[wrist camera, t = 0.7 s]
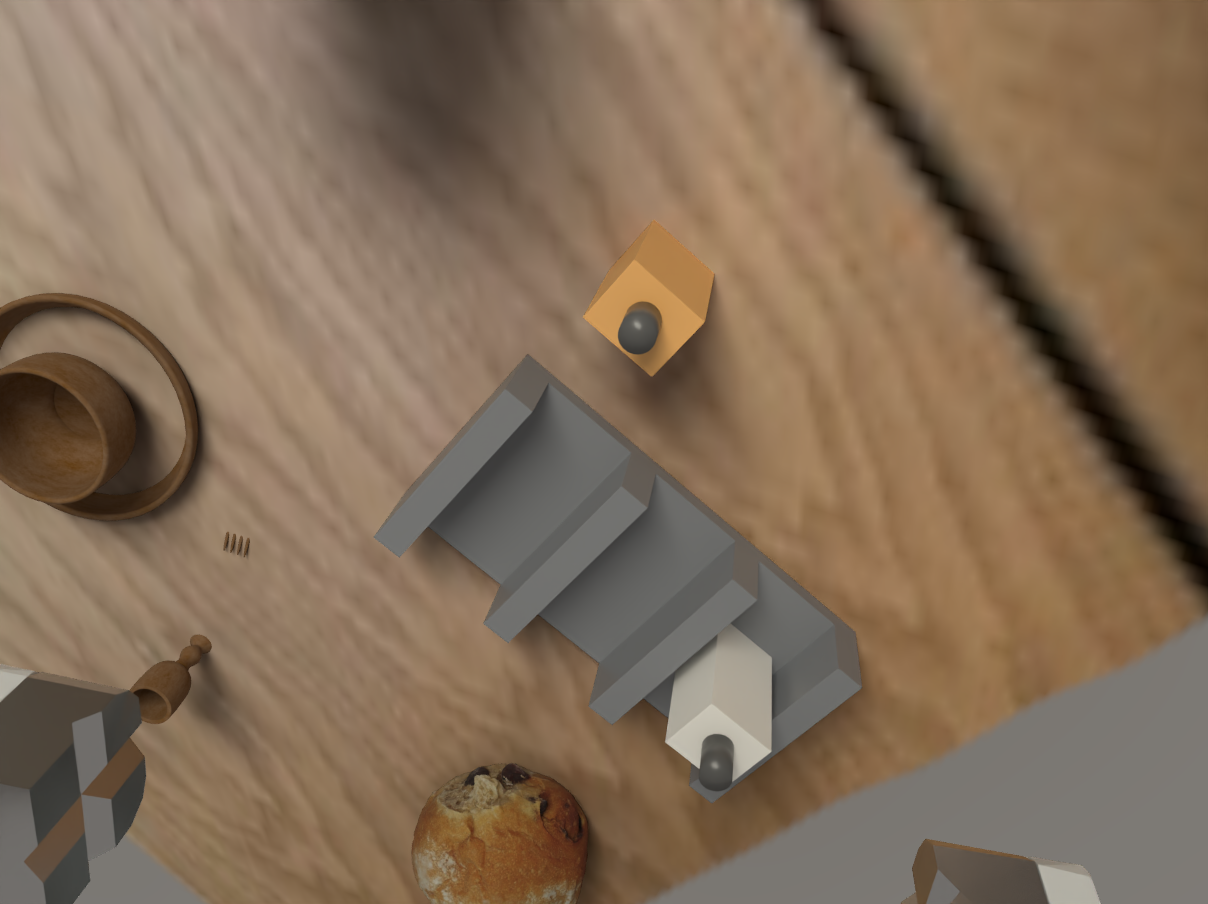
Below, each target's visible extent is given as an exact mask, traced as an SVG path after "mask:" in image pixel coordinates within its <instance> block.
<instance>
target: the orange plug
mask: <svg viewBox="0 0 1208 904" xmlns="http://www.w3.org/2000/svg"><path fill="white" fill-rule="evenodd" d="M713 279H714V273H713V272H712V271H711V270H710V269H708V268H707V267H706V266H705V265H704V264H703V263H702V262H701V261H700V260H698V259H697V258H696V257H695V256H694V255H693V254H692V253H691V252H690V251H688V250H687V249H686V248H685V247H684V246H683V245H682V244H681V243H680V242H678V241H677V240H676V239H675V238H674V237H673V236H672V235H671V234H670V233H668V232H667V231H666V230H665V229H664V228H663V227H662V226H661V225H660V224H658V223H657V222H656V221H655V220H653V221H652V222H651V224H650V225H649V226H648V227H647V228H646V229H645V230H644V232H643V233H642V234H641V235H640V236H639V237H638V238H637V239H636V241H635V242H634V243H633V244H632V245H631V246H630V247H629V248H628V250H627V251H626V252H625V253H624V254H623V255H622V256H621V257H620V259H619V260H618V261H617V262H616V263H615V264H614V265H613V266H612V268H611V269H610V270H609V271H608V273H607V275H606V277H605V278H604V280H603V282H602V284H601V286H600V287H599V289H598V291H597V293H596V295H595V296H594V298H593V300H592V302H591V304H590V305H589V307H588V309H587V311H586V312H585V314H584V316H583V318H584V319H585V320H587V321H588V322H589V323H590V324H591V325H592V326H594V327H595V328H596V329H597V330H598V331H599V332H601V333H602V334H603V335H604V336H605V337H606V338H607V339H609V340H610V341H611V342H612V343H613V344H614V345H616V346H617V347H618V348H619V349H620V350H621V351H622V352H624V353H625V354H626V355H627V356H628V357H629V358H631V359H632V360H633V361H634V362H635V363H636V364H637V365H639V366H640V367H641V368H642V369H643V370H644V371H646V372H647V373H648V374H649V375H650V376H651V377H652V376H653V375H654V374H655V373H656V372H657V371H658V370H659V369H660V368H661V367H662V366H663V365H664V364H665V363H666V362H667V361H668V360H669V359H670V358H671V357H672V356H673V355H674V353H675V352H676V351H677V350H678V349H679V348H680V347H681V346H682V345H683V344H684V343H685V342H686V341H687V340H688V339H689V338H690V337H691V336H692V335H693V334H694V333H695V332H696V331H697V330H698V329H699V327H700V326H701V325H702V324H703V323H704V322H705V319H706V314H707V309H708V304H709V299H710V294H711V289H712V284H713Z"/></svg>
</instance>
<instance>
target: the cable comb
mask: <svg viewBox="0 0 1208 904" xmlns="http://www.w3.org/2000/svg"><path fill="white" fill-rule="evenodd" d="M427 527H429V528H430V529H432V530H433V531H434V532H435V533H437V534H438V535H439V536H440V537H442V538H443V539H444V540H445V541H447V542H448V543H449V544H450V545H452V546H453V547H454V548H455V549H457V550H458V551H459V552H460V553H462V554H463V555H464V556H465V557H467V558H468V559H469V560H470V561H472V562H473V563H474V564H475V565H477V566H478V567H479V568H480V569H482V570H483V571H484V572H485V573H487V574H488V575H489V576H490V577H492V578H493V579H494V580H496V581H497V582H498V583H499V584H501V585H500V588H499V590H498V592H497V594H496V596H495V599H494V601H493V603H492V605H491V608H490V610H489V612H488V614H487V617H486V619H485V621H484V623H483V624H484V625H486V626H487V627H488V628H490V629H491V630H492V631H493V632H495V633H496V634H497V635H498V636H500V637H501V638H502V639H503V640H505V641H506V642H507V643H509V642H510V641H511V640H512V639H513V638H514V637H515V636H516V635H517V634H518V633H519V632H520V631H521V630H522V629H523V628H524V627H525V626H526V625H527V624H528V623H529V622H530V621H531V620H532V619H533V618H534V617H535V616H536V615H537V614H538V615H539V616H541V617H542V618H543V619H544V620H546V621H547V622H548V623H549V624H551V625H552V626H553V627H554V628H556V629H557V630H558V631H559V632H561V633H562V634H563V635H564V636H566V637H567V638H568V639H570V640H571V641H572V642H573V643H575V644H576V645H577V646H578V647H580V648H581V649H582V650H583V651H585V652H586V653H587V654H588V655H590V656H591V657H592V658H593V659H595V660H596V661H597V662H598V663H599V667H598V671H597V675H596V679H595V683H594V686H593V690H592V694H591V698H590V702H589V707H590V708H591V709H592V710H594V711H595V712H596V713H598V714H599V715H600V716H601V717H603V718H604V719H605V720H606V721H608V722H609V723H610V724H612V725H613V724H614V723H615V722H616V721H617V720H618V719H620V718H621V717H622V716H623V715H624V714H625V713H627V712H628V711H629V710H630V709H631V708H632V707H633V706H635V705H636V704H637V703H638V702H639V701H640V700H642V699H643V698H644V699H645V700H646V701H647V702H649V703H650V704H651V705H652V706H654V707H655V708H656V709H657V710H659V711H660V712H661V713H662V714H664V715H665V716H666V717H667V718H669V712H670V705H671V698H672V691H673V684H674V677H675V670H677V669H678V668H679V667H680V666H681V665H682V664H683V663H685V662H686V661H687V660H688V659H689V658H690V657H692V656H693V655H694V654H695V653H696V652H697V651H699V650H700V649H701V648H702V647H703V646H704V645H706V644H707V643H708V642H709V641H710V640H711V639H713V638H714V637H715V636H716V635H717V634H718V633H720V632H721V631H722V630H723V629H724V628H725V627H727V626H728V625H729V624H730V623H731V624H732V625H733V626H734V627H736V628H737V629H738V630H739V631H740V632H742V633H743V634H744V635H745V636H746V637H748V638H749V639H750V640H751V641H752V642H754V643H755V644H756V645H757V646H758V647H760V648H761V649H762V650H763V651H765V652H766V653H767V654H768V655H769V656H771V657H772V732H771V752H770V753H769V754H768V755H767V756H765V757H764V758H763V759H761V760H760V761H759V762H758V763H756V764H755V765H754V766H752V767H751V768H750V769H748V770H747V771H746V772H745V773H743V774H742V775H741V776H739V777H738V778H737V779H736V780H734V781H733V782H732V784H731V785H730V787H729V788H727V789H726V790H723V791H711V790H708V789H706V788H705V787H704V786H703V785H702V784H701V783H700V781H699V770H700V769H699V768H697V767H696V766H695V765H694V764H691V773H690V783H689V786H690V787H692V788H693V789H694V790H695V791H697V792H698V793H699V794H701V795H702V796H703V797H704V798H706V799H707V800H708V801H709V802H711V803H713V802H714V801H716V800H717V799H718V798H720V797H721V796H722V795H723V794H725V793H726V792H727V791H729V790H730V789H731V788H733V787H734V786H735V785H736V784H738V783H739V782H740V781H742V780H743V779H744V778H746V777H747V776H748V775H749V774H751V773H752V772H753V771H755V770H756V769H757V768H759V767H760V766H761V765H762V764H764V763H765V762H766V761H768V760H769V759H770V758H772V757H773V756H774V755H775V754H777V753H778V752H779V751H781V750H782V749H783V748H785V747H786V746H787V745H788V744H790V743H791V742H792V741H794V740H795V739H796V738H798V737H799V736H800V735H801V734H803V733H804V732H805V731H807V730H808V729H809V728H811V727H812V726H813V725H814V724H816V723H817V722H818V721H820V720H821V719H822V718H824V717H825V716H826V715H828V714H829V713H830V712H831V711H833V710H834V709H835V708H837V707H838V706H839V705H841V704H842V703H843V702H844V701H846V700H847V699H848V698H850V697H851V696H852V695H854V694H855V693H856V692H857V691H859V690H860V689H861V688H862V682H861V674H860V666H859V658H858V650H857V641H856V633H855V631H853V630H852V629H851V628H850V627H849V626H848V625H846V624H845V623H844V622H843V621H842V620H841V619H839V618H838V617H837V616H836V615H835V614H833V613H832V612H831V611H830V610H829V609H828V608H826V607H825V606H824V605H823V604H822V603H820V602H819V601H818V600H817V599H816V598H815V597H813V596H812V595H811V594H810V593H809V592H808V591H806V590H805V589H804V588H803V587H802V586H800V585H799V584H798V583H797V582H796V581H795V580H793V579H792V578H791V577H790V576H789V575H787V574H786V573H785V572H784V571H783V570H782V569H780V568H779V567H778V566H777V565H776V564H775V563H773V562H772V561H771V560H770V559H769V558H767V557H766V556H765V555H764V554H763V553H762V552H760V551H759V550H758V549H757V548H756V547H755V546H753V545H752V544H751V543H750V542H749V541H747V540H746V539H745V538H744V537H743V536H742V535H740V534H739V533H738V532H737V531H736V530H734V529H733V528H732V527H731V526H730V525H729V524H727V523H726V522H725V521H724V520H723V519H722V518H720V517H719V516H718V515H717V514H716V513H714V512H713V511H712V510H711V509H710V508H709V507H707V506H706V505H705V504H704V503H703V502H701V501H700V500H699V499H698V498H697V497H696V496H694V495H693V494H692V493H691V492H690V491H689V490H687V489H686V488H685V487H684V486H683V485H681V484H680V483H679V482H678V481H677V480H676V479H674V478H673V477H672V476H671V475H670V474H668V473H667V472H666V471H665V470H664V469H663V468H661V467H660V466H659V465H658V464H657V463H656V462H654V461H653V460H652V459H651V458H650V457H648V456H647V455H646V454H645V453H644V452H643V451H641V450H640V449H639V448H638V447H637V446H636V445H634V444H633V443H632V442H631V441H630V440H628V439H627V438H626V437H625V436H624V435H623V434H621V433H620V432H619V431H618V430H617V429H615V428H614V427H613V426H612V425H611V424H610V423H608V422H607V421H606V420H605V419H604V418H603V417H601V416H600V415H599V414H598V413H597V412H595V411H594V410H593V409H592V408H591V407H590V406H588V405H587V404H586V403H585V402H584V401H582V400H581V399H580V398H579V397H578V396H577V395H575V394H574V393H573V392H572V391H571V390H570V389H568V388H567V387H566V386H565V385H564V384H562V383H561V382H560V381H559V380H558V379H557V378H555V377H554V376H553V375H552V374H551V373H549V372H548V371H547V370H546V369H545V368H544V367H542V366H541V365H540V364H539V363H538V362H537V361H535V360H534V359H533V358H532V357H531V356H529V355H528V354H527V355H526V357H525V358H524V359H523V360H522V361H521V362H520V363H519V364H518V366H517V367H516V368H515V369H514V370H513V371H512V372H511V374H510V375H509V376H508V377H507V378H506V379H505V380H504V381H503V383H502V384H501V385H500V386H499V387H498V388H497V389H496V391H495V392H494V393H493V394H492V395H491V396H490V397H489V398H488V400H487V401H486V402H485V403H484V404H483V405H482V406H481V408H480V409H479V410H478V411H477V412H476V413H475V414H474V415H473V417H472V418H471V419H470V420H469V421H468V422H467V423H466V425H465V426H464V427H463V428H462V429H461V430H460V431H459V432H458V434H457V435H456V436H455V437H454V438H453V439H452V440H451V442H450V443H449V444H448V445H447V446H446V447H445V448H444V449H443V451H442V452H441V453H440V454H439V455H438V456H437V457H436V459H435V460H434V461H433V462H432V463H431V464H430V465H429V467H428V468H427V469H426V470H425V471H424V472H423V473H422V474H421V476H420V477H419V478H418V479H417V480H416V481H415V482H414V484H413V485H412V486H411V487H410V488H409V489H408V490H407V491H406V493H405V494H404V495H403V497H402V498H401V499H400V501H399V502H398V504H397V505H396V506H395V508H394V509H393V511H392V512H391V513H390V515H389V516H388V518H387V519H386V520H385V522H384V523H383V525H382V526H381V527H380V529H379V530H378V532H377V533H376V535H375V536H374V538H375V539H376V540H378V541H379V542H380V543H381V544H383V545H384V546H385V547H387V548H388V549H389V550H390V551H392V552H393V553H394V554H395V555H397V556H398V557H400V556H401V555H402V554H403V553H404V552H405V551H406V550H407V549H408V547H409V546H410V545H411V544H412V543H413V542H414V541H415V540H416V539H417V538H418V537H419V535H420V534H421V533H422V532H423V531H424V530H425V529H426V528H427Z"/></svg>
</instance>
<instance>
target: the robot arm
mask: <svg viewBox="0 0 1208 904" xmlns="http://www.w3.org/2000/svg"><path fill="white" fill-rule="evenodd" d="M141 723H142V719H141V712H140V704H139V697H138V696H136V695H135V694H133V693H132V692H130V691H129V690H125V689H121V688H116V687H111V686H106V685H102V684H97V683H92V682H88V681H83V680H78V679H74V678H69V677H64V676H59V675H55V674H50V673H45V672H41V673H39V672H35V671H31V670H26V669H22V668H17V667H12V666H8V665H3V664H0V904H73V903H74V902H75V900H76V899H77V898H78V896H79V895H80V894H81V892H82V891H83V890H84V889H85V887H86V886H87V885H88V883H89V882H90V873H89V863H88V861H90V860H92V859H94V858H96V857H98V856H100V855H102V854H103V853H105V852H107V851H109V850H111V849H113V848H115V847H116V846H117V845H118V843H119V842H120V841H121V839H122V838H123V836H124V835H125V834H126V832H127V831H128V829H129V828H130V827H131V825H132V823H133V820H134V818H135V816H136V813H137V811H138V808H139V806H140V803H141V801H142V799H143V793H144V786H145V780H146V767H145V756H144V755H143V754H142V752H141V751H140V750H139V749H138V747H137V746H136V745H135V743H134V742H133V741H132V740H131V738H130V736H131V735H132V734H133V733H134V732H135V730H136V729H137V728H138V727H139V726H140V724H141ZM912 871H913V877H914V884H915V890H916V893H914V894H913V895H911V896H910V897H908V898H906V899H905V900H903V901H902V902H901V904H1101V902H1100V899H1099V896H1098V894H1097V891H1096V889H1095V886H1094V883H1093V881H1092V878H1091V875H1090V874H1089V872H1088V871H1087V870H1086V869H1085V868H1084V867H1083V866H1082V865H1077V864H1071V863H1065V862H1059V861H1053V860H1047V859H1041V858H1035V857H1028V858H1026V857H1023V856H1019V855H1013V854H1007V853H1002V852H996V851H991V850H985V849H980V848H974V847H968V846H962V845H957V844H952V843H946V842H940V841H935V840H929V839H925V840H924V841H923V843H922V845H921V846H920V847H919V849H918V852H917V855H916V858H915V861H914V864H913V867H912Z"/></svg>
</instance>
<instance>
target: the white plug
mask: <svg viewBox="0 0 1208 904" xmlns="http://www.w3.org/2000/svg"><path fill="white" fill-rule="evenodd" d="M771 732H772V657H771V656H769V655H768V654H767V653H766V652H765V651H763V650H762V649H761V648H760V647H758V646H757V645H756V644H755V643H754V642H752V641H751V640H750V639H749V638H748V637H746V636H745V635H744V634H743V633H742V632H740V631H739V630H738V629H737V628H736V627H734V626H733V625H732V624H731V623H730V624H729V625H728V626H727V627H725V628H724V629H723V630H722V631H721V632H720V633H718V634H717V635H716V636H715V637H714V638H713V639H711V640H710V641H709V642H708V643H707V644H706V645H704V646H703V647H702V648H701V649H700V650H699V651H697V652H696V653H695V654H694V655H693V656H692V657H690V658H689V659H688V660H687V661H686V662H685V663H683V664H682V665H681V666H680V667H679V668H678V669H677V670H675V677H674V684H673V691H672V698H671V705H670V712H669V719H668V726H667V733H666V740H665V742H666V743H667V744H668V745H670V746H671V747H672V748H673V749H675V750H676V751H677V752H678V753H680V754H681V755H682V756H684V757H685V758H686V759H687V760H689V761H690V762H691V763H692V764H694V765H695V766H696V767H697V768H699V769H700V770H699V781H700V783H701V784H702V785H703V786H704V787H705V788H706V789H708V790H711V791H723V790H726V789H727V788H729V787H730V785H731V784H732V782H733V781H734V780H736V779H737V778H738V777H739V776H741V775H742V774H743V773H745V772H746V771H747V770H748V769H750V768H751V767H752V766H754V765H755V764H756V763H758V762H759V761H760V760H761V759H763V758H764V757H765V756H767V755H768V754H769V753H770V752H771Z"/></svg>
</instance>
